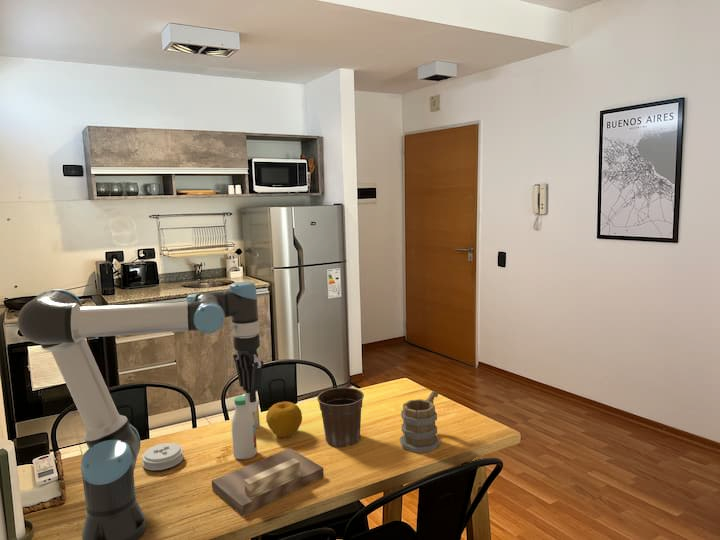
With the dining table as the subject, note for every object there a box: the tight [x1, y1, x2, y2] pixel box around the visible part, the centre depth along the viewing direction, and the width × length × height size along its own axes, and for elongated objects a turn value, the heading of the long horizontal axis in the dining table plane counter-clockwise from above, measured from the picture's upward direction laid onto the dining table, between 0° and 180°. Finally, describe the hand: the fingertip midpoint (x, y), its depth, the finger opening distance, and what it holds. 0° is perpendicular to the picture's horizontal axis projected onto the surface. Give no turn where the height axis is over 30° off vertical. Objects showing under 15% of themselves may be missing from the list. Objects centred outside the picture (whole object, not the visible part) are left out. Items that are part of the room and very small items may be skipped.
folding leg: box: [244, 458, 300, 497], centre depth 154 cm, size 17×3×4 cm, turn 132°
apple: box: [265, 401, 303, 439], centre depth 192 cm, size 13×13×11 cm
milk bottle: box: [231, 395, 258, 460], centre depth 178 cm, size 8×8×20 cm
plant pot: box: [317, 387, 365, 448], centre depth 186 cm, size 16×16×16 cm
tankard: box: [399, 390, 441, 454], centre depth 184 cm, size 20×13×15 cm, turn 143°
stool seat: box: [211, 447, 325, 517], centre depth 161 cm, size 28×18×3 cm, turn 132°
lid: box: [141, 442, 184, 471], centre depth 175 cm, size 13×13×5 cm
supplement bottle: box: [241, 393, 261, 430], centre depth 199 cm, size 7×7×13 cm
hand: (251, 411), depth 159 cm, fingers closed
